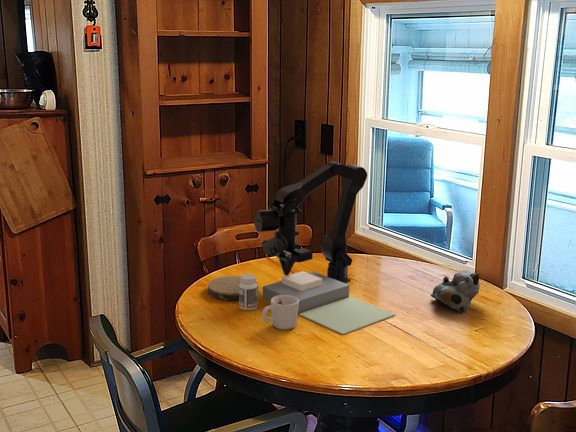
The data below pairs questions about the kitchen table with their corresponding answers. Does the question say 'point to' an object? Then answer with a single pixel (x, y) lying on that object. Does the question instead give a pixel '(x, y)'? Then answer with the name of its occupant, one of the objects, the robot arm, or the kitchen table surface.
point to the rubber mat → (347, 315)
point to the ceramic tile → (302, 281)
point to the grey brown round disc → (225, 288)
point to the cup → (282, 311)
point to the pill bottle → (248, 292)
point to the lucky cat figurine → (458, 290)
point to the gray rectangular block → (310, 293)
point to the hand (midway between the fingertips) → (286, 275)
